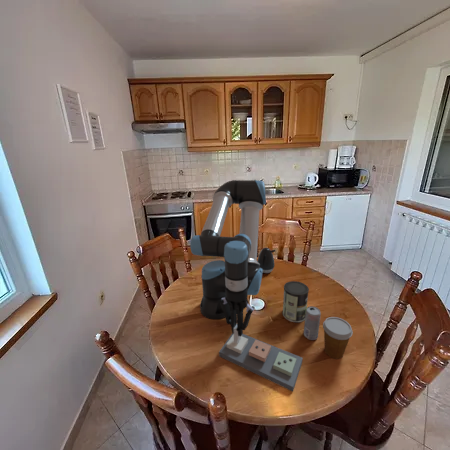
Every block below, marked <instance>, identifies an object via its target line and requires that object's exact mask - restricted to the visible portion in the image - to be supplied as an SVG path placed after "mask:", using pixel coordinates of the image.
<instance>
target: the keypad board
mask: <svg viewBox="0 0 450 450" xmlns="http://www.w3.org/2000/svg"><path fill="white" fill-rule="evenodd" d="M232 335H233V333H232V332H231V334H230V335H229V337H228V339H227V340H226V341H225V343H224V344H223V345H222V347H221V348H220V349H219V351H218V356H219V357H220V358H222V359H224V360H226V361H228V362H230V363H232V364H233V365H237V366H239V367H241V368H243V369H244V370H247V371H248V372H250V373H253V374H255V375H258V376H260V377H261V378H264V379H265V380H268V381H269V382H272V383H274V384H276V385H278V386H280V387H283V388H284V389H285V390H289V391H290V392H294V390H295V386H296V383H297V380H298V378H299V377H298V376H299V374H300V371H301V368H302V364H303V357H302V356H299V355H298V354H294V353H291V352H290V351H287V350H284V349H282V348H279V347H276V346H275V345H271V344H269V343H268V342H264V341H262V340H259V339H257V338H254V337H252V336H249V335H247V334H244V333H243V334H242V335H241V336H242V337H245V338H247V339H248V343H247V345H246V347H245V348H244V350H243V352H242V353H241V354H240V353H238V352H236V351H233V350H231V349H229V348H227V346H226V344H227V343H228V341H229V340H230V338H231V337H232ZM255 340H258V341H260V342H263V343H265V344H268V345H270V346H271V351H270V353H269V355H268V357H267V359H266V361H265V362H263V361H261V360H259V359H257V358H254V357H252V356H250V355H249V350H250V348H251V347H252V345H253V343H254V342H255ZM279 352H281V353H284V354H286V355H289V356H291V357H293V358H296V364H295V367H294V370H293V373H292V376H289V375H287V374H284V373H282V372H280V371H278V370H276V369H273V365H274V363H275V360H276V358H277V356H278V353H279Z"/></svg>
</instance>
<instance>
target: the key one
mask: <svg viewBox="0 0 450 450" xmlns="http://www.w3.org/2000/svg"><path fill="white" fill-rule="evenodd" d="M247 343H248V339H247V338H245V337H242V336H241V340H240V341H239V343H238V344H236V343H234V334H233V335H232V337H231V338H230V340H229V341H228V343H227V344H226V346H227V348H229V349H231V350H233V351H236V352H238V353H240V354H241V353H242V352H243V350H244V348H245V347H246V345H247Z"/></svg>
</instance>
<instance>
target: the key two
mask: <svg viewBox="0 0 450 450" xmlns="http://www.w3.org/2000/svg"><path fill="white" fill-rule="evenodd" d="M258 340H259V339H257V340H255V342H254V343H253V345H252V347H251V348H250V350H249V355H250V356H252V357H254V358H257V359H259V360H261V361H263V362H265V361H266V359H267V357H268V355H269V353H270V351H271V346H270V345H271V344H270V345H268V344H269V343H267V344H265V343H266V342H265V343H263V342H264V341H262V342H260V341H261V340H260V341H258Z"/></svg>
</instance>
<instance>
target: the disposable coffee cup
mask: <svg viewBox="0 0 450 450" xmlns="http://www.w3.org/2000/svg"><path fill="white" fill-rule="evenodd" d="M322 329H323V330H324V331H323V334H324V335H323V337H324V339H323V343H324V344H323V345H324V352H325V354H326V355H328V357H330V358H332V359H336V360H339V359H342V358H343V356H344V354H345V352H346V349H347V346H348V343H349V341H350V339H351V337H352V336H353V334H354V333H353V329H352V326H351V324H350V323H349V322H348V321H347V320H346V319H345V320H344V318H340V317H337V316H330V317H327V318H325V320H324V321H323V323H322Z"/></svg>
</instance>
